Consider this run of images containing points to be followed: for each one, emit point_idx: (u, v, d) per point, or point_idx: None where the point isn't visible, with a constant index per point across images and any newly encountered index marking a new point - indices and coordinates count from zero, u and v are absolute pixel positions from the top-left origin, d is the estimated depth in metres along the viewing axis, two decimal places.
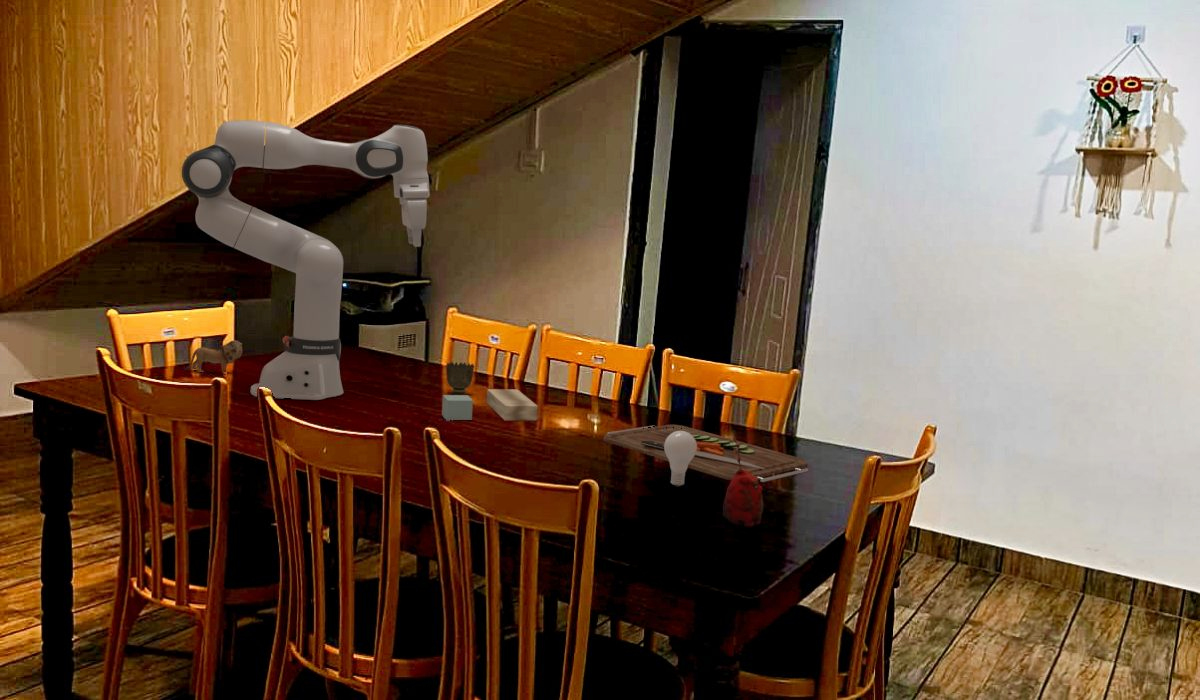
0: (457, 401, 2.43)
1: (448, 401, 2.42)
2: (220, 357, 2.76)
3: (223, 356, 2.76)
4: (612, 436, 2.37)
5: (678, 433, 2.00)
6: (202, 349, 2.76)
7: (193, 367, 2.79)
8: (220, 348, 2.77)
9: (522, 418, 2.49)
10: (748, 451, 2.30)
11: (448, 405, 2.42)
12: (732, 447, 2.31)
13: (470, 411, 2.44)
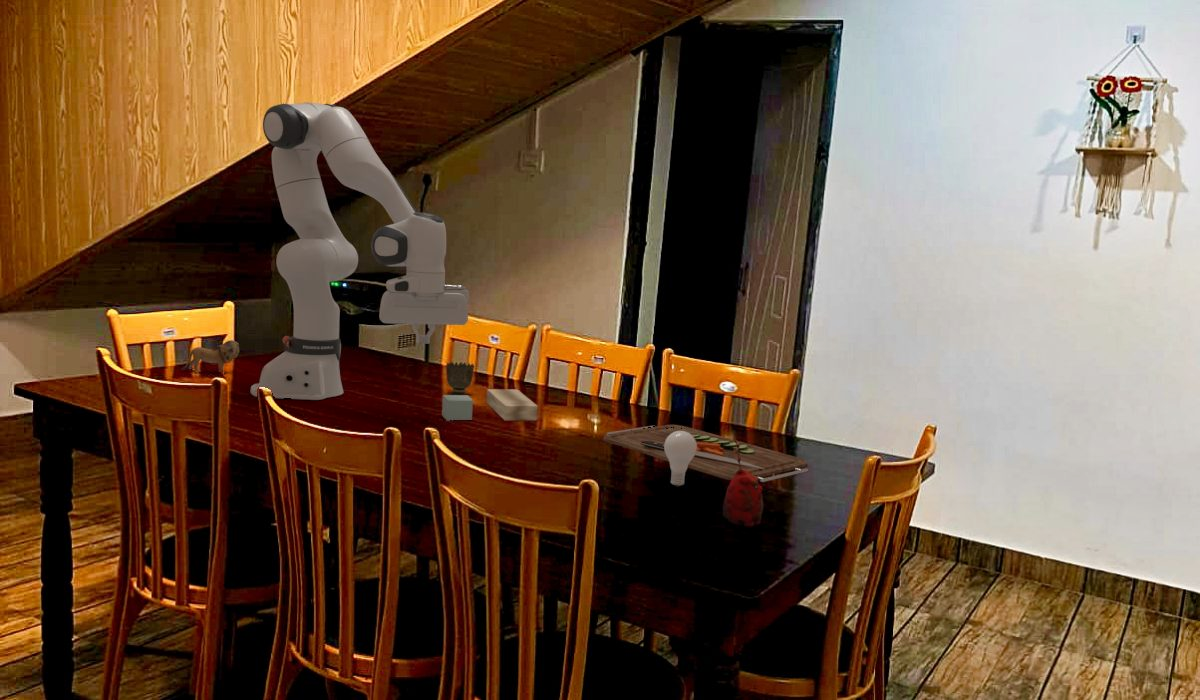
0: (457, 401, 2.43)
1: (448, 401, 2.42)
2: (217, 357, 2.76)
3: (220, 356, 2.76)
4: (612, 436, 2.37)
5: (678, 433, 2.00)
6: (199, 349, 2.76)
7: (190, 367, 2.79)
8: (217, 348, 2.77)
9: (522, 418, 2.49)
10: (748, 451, 2.30)
11: (448, 405, 2.42)
12: (732, 447, 2.31)
13: (470, 411, 2.44)
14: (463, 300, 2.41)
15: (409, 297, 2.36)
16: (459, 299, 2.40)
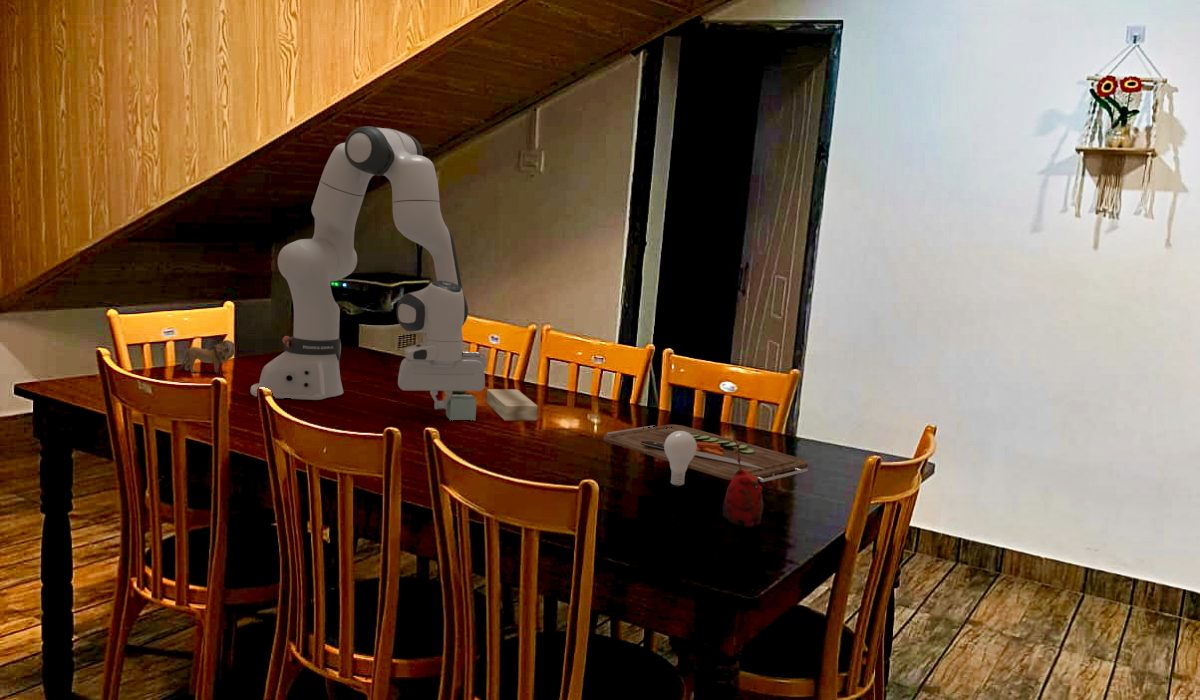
0: (461, 400, 2.43)
1: (452, 400, 2.43)
2: (212, 356, 2.76)
3: (216, 356, 2.76)
4: (612, 436, 2.37)
5: (678, 433, 2.00)
6: (194, 349, 2.76)
7: (185, 367, 2.78)
8: (212, 348, 2.77)
9: (522, 418, 2.49)
10: (748, 451, 2.30)
11: (452, 404, 2.43)
12: (732, 447, 2.31)
13: (474, 410, 2.45)
14: (480, 367, 2.44)
15: (427, 365, 2.40)
16: (477, 366, 2.44)
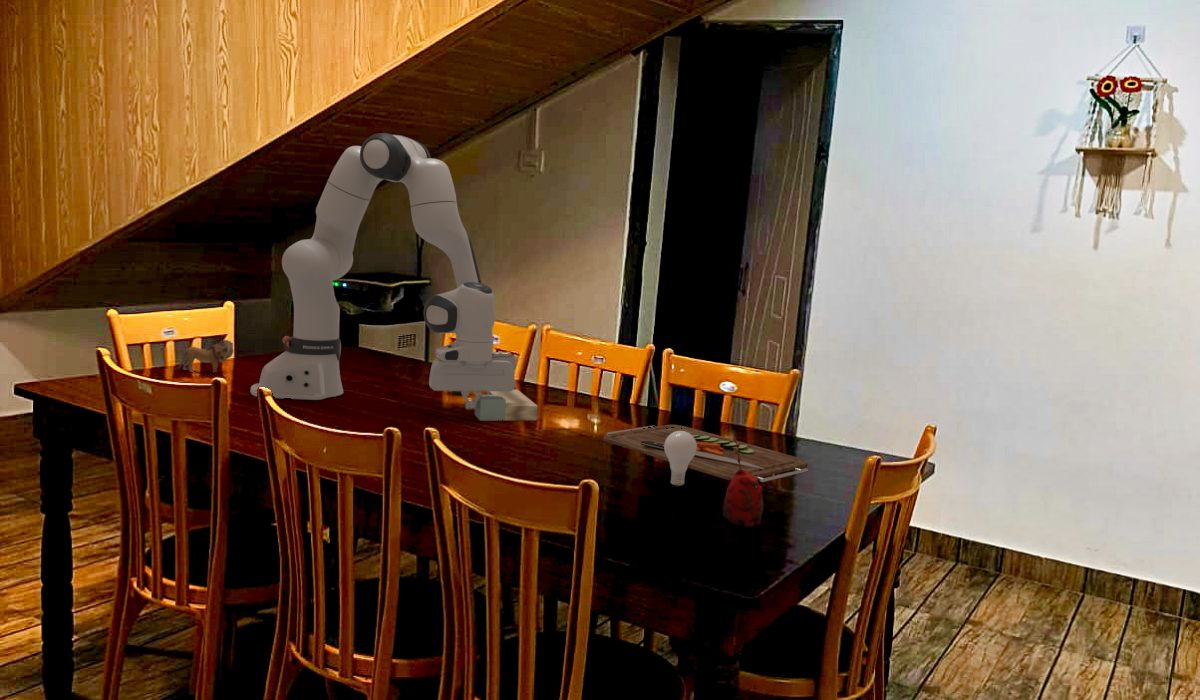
0: (490, 401, 2.46)
1: (481, 401, 2.45)
2: (211, 356, 2.76)
3: (214, 356, 2.76)
4: (612, 436, 2.37)
5: (678, 433, 2.00)
6: (193, 349, 2.76)
7: (184, 367, 2.78)
8: (211, 348, 2.77)
9: (522, 418, 2.49)
10: (748, 451, 2.30)
11: (481, 404, 2.45)
12: (732, 447, 2.31)
13: (503, 410, 2.47)
14: (510, 367, 2.47)
15: (459, 365, 2.42)
16: (507, 367, 2.46)
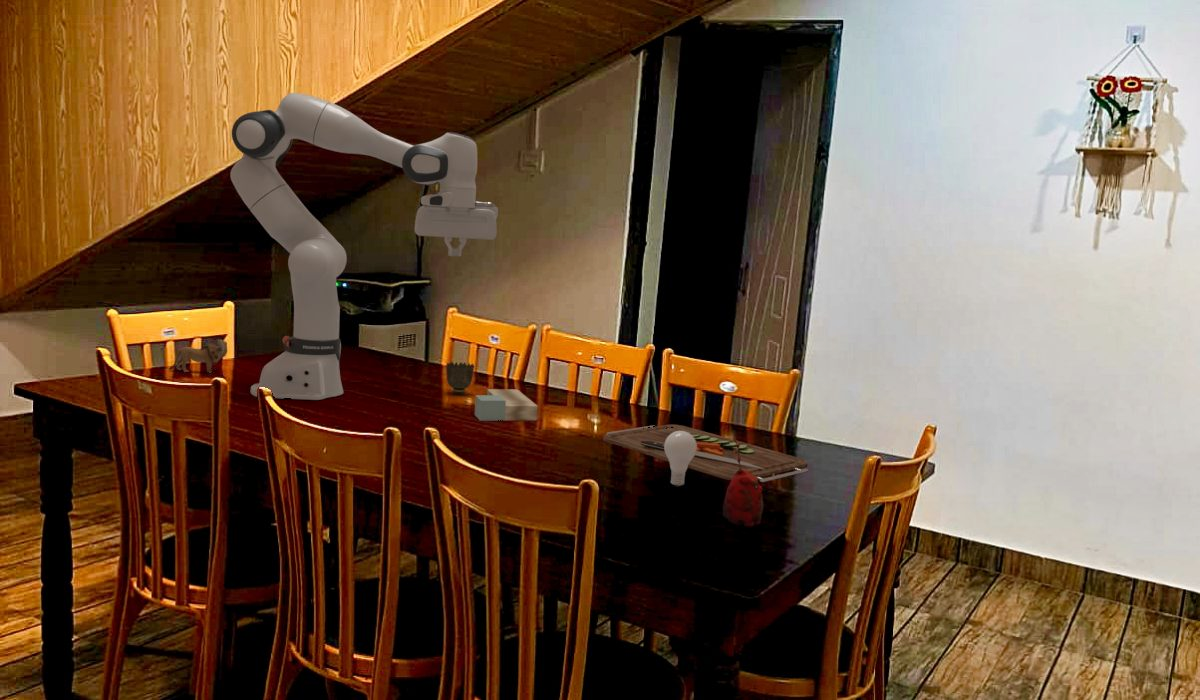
0: (490, 401, 2.46)
1: (482, 401, 2.45)
2: (205, 356, 2.76)
3: (208, 355, 2.76)
4: (612, 436, 2.37)
5: (678, 433, 2.00)
6: (187, 348, 2.76)
7: (177, 366, 2.78)
8: (205, 347, 2.77)
9: (522, 418, 2.49)
10: (748, 451, 2.30)
11: (481, 405, 2.45)
12: (732, 447, 2.31)
13: (503, 411, 2.47)
14: (492, 216, 2.58)
15: (443, 211, 2.53)
16: (489, 215, 2.58)
